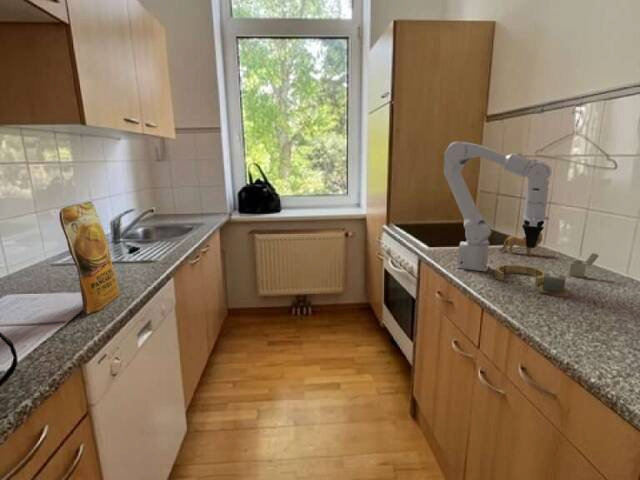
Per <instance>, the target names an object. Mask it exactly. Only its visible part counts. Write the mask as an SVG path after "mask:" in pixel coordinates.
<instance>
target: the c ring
mask: <svg viewBox="0 0 640 480" xmlns="http://www.w3.org/2000/svg"><path fill="white" fill-rule="evenodd" d="M509 273H511V274H521V275H528V276H531V277H535V281H534V285H535V286H536V287H539V285H540V284H543V281H544V273H547V272H545V271H544V270H542V269H540V268H536V267H532V266H528V265H521V264H502V265H497V266H496V267H495V271H494V278H496V280H497V281H501V282H503V281H504V278H505V277H504V276H505V275H504V274H509Z"/></svg>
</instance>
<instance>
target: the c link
mask: <svg viewBox="0 0 640 480" xmlns="http://www.w3.org/2000/svg"><path fill="white" fill-rule="evenodd" d="M565 286H566V276H565V275H562V274H559V275H558V276H557V277H556V276H552V275H551V273H548V272H546V273H544V281H543V290H544V291H551V292H558V293H564V288H565Z"/></svg>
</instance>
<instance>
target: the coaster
mask: <svg viewBox="0 0 640 480" xmlns="http://www.w3.org/2000/svg"><path fill="white" fill-rule="evenodd" d="M538 287H539V288H538V289H539V291H538V293H539V294H540V295H548V296H553V297H554V296H555V297H558V298H559V297H560V298H567V299H569V289H568V287H564V293H558V292H551V291H544V290H543V284H540V285H539V286H538Z"/></svg>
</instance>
